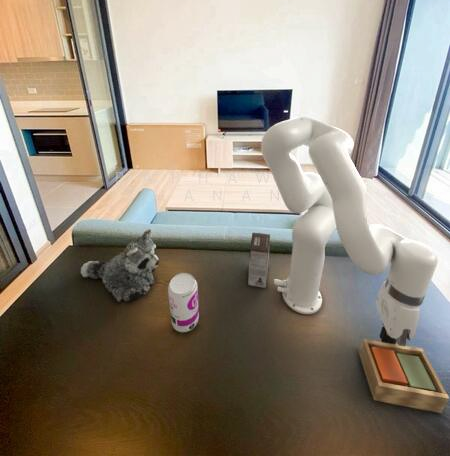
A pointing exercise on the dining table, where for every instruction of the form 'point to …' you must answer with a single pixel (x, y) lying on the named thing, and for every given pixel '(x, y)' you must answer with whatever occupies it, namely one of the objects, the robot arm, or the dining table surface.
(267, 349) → the dining table surface
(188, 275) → the supplement can
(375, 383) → the snack tray
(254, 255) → the coffee box
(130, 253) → the raccoon plush
